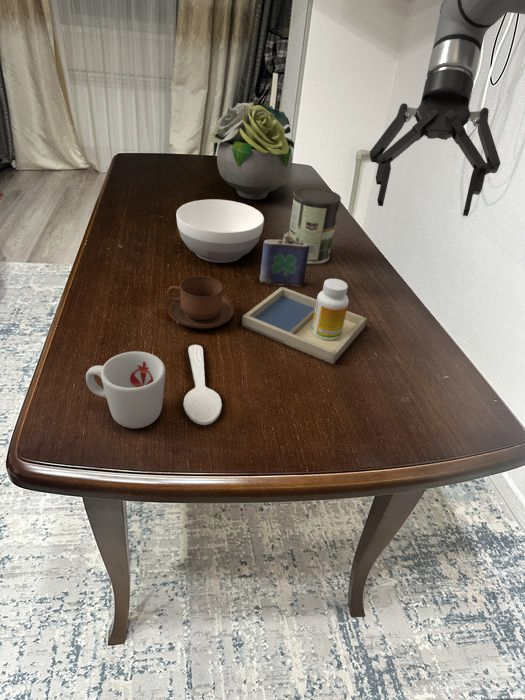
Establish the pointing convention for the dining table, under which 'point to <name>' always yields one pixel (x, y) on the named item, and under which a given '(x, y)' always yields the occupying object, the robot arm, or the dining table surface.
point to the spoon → (201, 392)
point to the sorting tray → (299, 324)
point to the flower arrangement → (253, 149)
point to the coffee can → (314, 221)
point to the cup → (131, 387)
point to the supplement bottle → (330, 310)
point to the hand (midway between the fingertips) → (421, 208)
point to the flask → (284, 261)
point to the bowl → (219, 229)
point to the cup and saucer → (200, 303)
